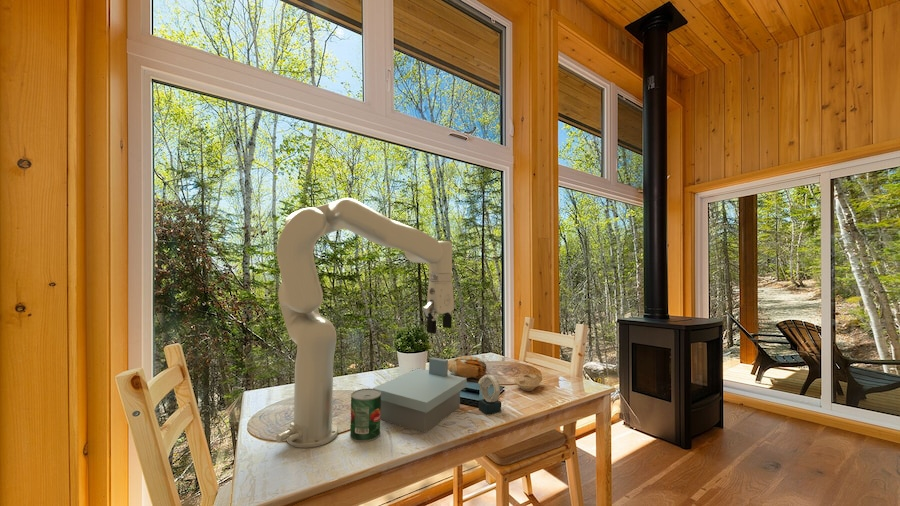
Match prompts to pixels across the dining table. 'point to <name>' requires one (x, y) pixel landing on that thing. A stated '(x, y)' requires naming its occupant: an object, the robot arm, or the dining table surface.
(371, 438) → the canned tomato
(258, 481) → the dining table surface
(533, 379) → the pottery oil lamp
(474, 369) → the bread loaf
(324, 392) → the robot arm
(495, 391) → the stone ring on base
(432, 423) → the tub
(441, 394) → the lid
